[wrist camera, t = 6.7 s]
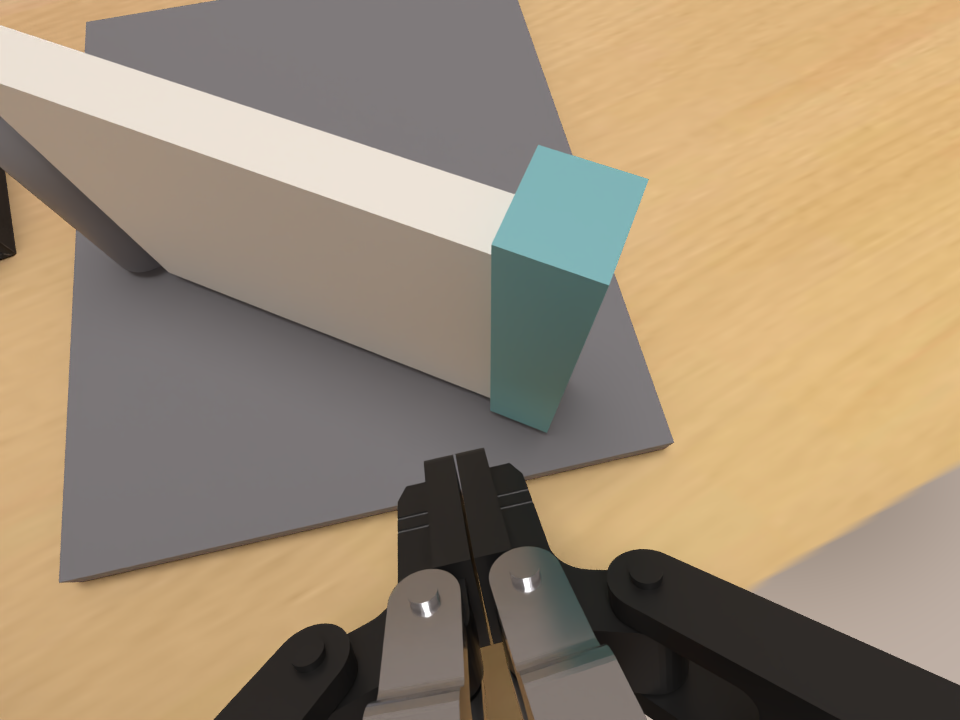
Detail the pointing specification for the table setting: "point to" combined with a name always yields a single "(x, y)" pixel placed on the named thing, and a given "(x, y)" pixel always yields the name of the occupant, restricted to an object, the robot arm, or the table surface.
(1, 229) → the ammunition clip
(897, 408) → the table surface
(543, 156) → the cream barrier panel
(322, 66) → the mat
